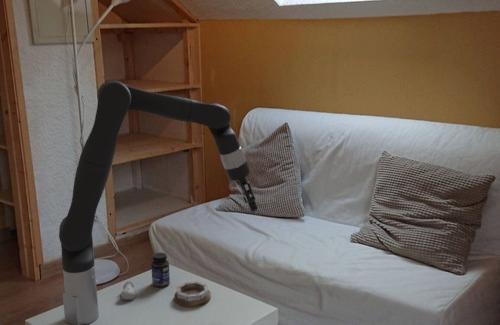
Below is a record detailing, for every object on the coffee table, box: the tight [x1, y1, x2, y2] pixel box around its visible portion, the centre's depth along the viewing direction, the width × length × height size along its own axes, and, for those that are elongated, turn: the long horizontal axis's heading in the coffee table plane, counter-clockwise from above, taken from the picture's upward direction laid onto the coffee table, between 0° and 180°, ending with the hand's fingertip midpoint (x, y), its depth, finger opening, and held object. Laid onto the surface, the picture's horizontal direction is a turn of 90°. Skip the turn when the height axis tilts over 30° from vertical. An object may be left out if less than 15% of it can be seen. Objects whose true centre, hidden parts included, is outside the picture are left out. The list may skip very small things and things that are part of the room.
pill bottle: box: [150, 252, 171, 289], centre depth 185 cm, size 6×6×11 cm
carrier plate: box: [174, 280, 212, 308], centre depth 176 cm, size 12×12×4 cm
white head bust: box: [120, 281, 138, 301], centre depth 178 cm, size 4×8×5 cm
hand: (251, 206), depth 174 cm, fingers open, 8 cm apart
